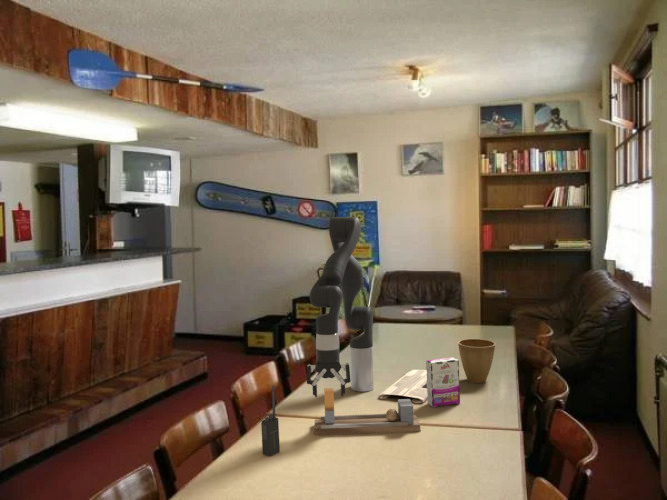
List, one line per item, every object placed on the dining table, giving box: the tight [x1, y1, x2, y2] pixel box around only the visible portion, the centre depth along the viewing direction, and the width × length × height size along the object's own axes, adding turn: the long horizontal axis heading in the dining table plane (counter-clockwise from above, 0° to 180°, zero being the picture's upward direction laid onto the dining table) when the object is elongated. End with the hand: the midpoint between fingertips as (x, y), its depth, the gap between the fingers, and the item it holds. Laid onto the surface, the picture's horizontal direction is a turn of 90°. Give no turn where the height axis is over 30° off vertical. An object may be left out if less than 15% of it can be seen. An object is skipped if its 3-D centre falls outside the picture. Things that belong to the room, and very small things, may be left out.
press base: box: [314, 398, 421, 436], centre depth 189 cm, size 9×34×8 cm, turn 92°
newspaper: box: [378, 369, 428, 404], centre depth 232 cm, size 37×19×3 cm, turn 154°
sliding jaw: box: [323, 387, 335, 425], centre depth 188 cm, size 7×3×11 cm, turn 2°
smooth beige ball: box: [385, 408, 398, 421], centre depth 189 cm, size 4×4×4 cm
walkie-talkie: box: [260, 385, 281, 457], centre depth 171 cm, size 5×3×20 cm
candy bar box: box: [425, 356, 461, 408], centre depth 210 cm, size 11×5×16 cm, turn 105°
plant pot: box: [457, 338, 496, 384], centre depth 238 cm, size 15×15×16 cm
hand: (329, 395), depth 188 cm, fingers open, 8 cm apart
